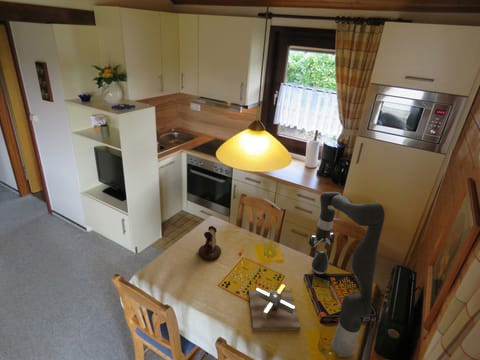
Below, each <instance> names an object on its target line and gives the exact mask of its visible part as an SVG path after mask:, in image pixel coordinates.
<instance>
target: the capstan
mask: <svg viewBox="0 0 480 360" xmlns="http://www.w3.org/2000/svg"><path fill="white" fill-rule="evenodd" d="M285 288H286V285H285V284H281V285H280V286H279V289H277V290H278V291H277V292H271V293H270V294H269V293H267V292H265V291H263V289H261V288H259V287H257V288H256V289H255V290H256V292H255V295H256V296H258V297H260V298H262V299H264V300H266V301H268V302H269V304H268V306H267V307H266V309H265V310H264V313H263V317H264V318H267V317H268V315H269V314H270V312H271V311H277V310H278V307H279V308H281V309H283V310H285V311H287V312H289V313H291V314H293V313H294V310H295V308H296V305H295V306H293V305H291V304H289V303H287V302H285V301H283V300H281V295H282V293H283V292H284V290H285Z"/></svg>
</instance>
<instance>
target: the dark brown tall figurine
mask: <svg viewBox="0 0 480 360" xmlns="http://www.w3.org/2000/svg"><path fill="white" fill-rule="evenodd" d="M217 232H218V231H217V228H216V227H215V226H214V225H209V226H208V231H205V232H204V233H203V236H204V238H205V244H202V245H201V246H200V247H199V249H198V254H199V255H198V256H199V257H201V258H202V259H204V260H208V261H215V260H216V259H218V258H219V257H220V256H221V255H222V249H221V247H220V246H219V245H217V237H216V233H217Z"/></svg>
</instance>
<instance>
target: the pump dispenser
mask: <svg viewBox="0 0 480 360" xmlns="http://www.w3.org/2000/svg"><path fill="white" fill-rule="evenodd" d="M315 253H316V254H315V255H314V257H313V259H312V262H311V269H312V270H313V272H314V273H316V274H317V275H323V274H324V275H325V274H326V273H327V271H328V269H329V264H330V263H329V256H328V254H327V252H325V250H321V251H318V249H316V248H315Z"/></svg>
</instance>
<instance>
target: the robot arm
mask: <svg viewBox="0 0 480 360" xmlns="http://www.w3.org/2000/svg"><path fill="white" fill-rule="evenodd" d="M319 197H320V198H319V200H320V215H319V218H318V221H317V226H316V234H315V235H313V234H311V235H310V237H309V241H308V245H309V246H310V250H311V252H312V253H316V251H315V249H316V246H317V245H319V244H320V243H325V244H324V249H325V250H326V251H328V250H329V248H330V245H331V244H334V242H335V235H336V234H335V233H334V232H333V231H332V229H333V225H334V218H335V214H336V211H335V210H338V211H340V212H342V213H343V214H345V215H346V216H347V217H348V218H349V219H351V220H352V221H353V222H354V223H355V224H357V225H358V226H362V227H367V229H366V233H365V235H364V237H363V238H362V239H361V241H359V243H358V244H357V246H356V247H355V249H354V250H353V254H352V259H351V260H352V261H351V268H352V271H353V272H352V273H353V274H354V276H355V277H356V279H357V281H358V282H359V286H360V291H359V294H346V295H345V296H344V297H343V299H342V303H341V308H340V314H339V319H338V323H337V327H336V330H335V332H334V337H333V340H332V341H331V348H332V351H334V353H335V354H336V355H337V356H338V358H351V357H352V356H353V353H354V351H355V348H356V345H357V343H356V341H357V339H358V336H359V332H360V329H361V327H362V321H361V318H368V317H369V316H370V315H371V312H372V307H373V305H372V304H373V285H374V276H375V272H376V271H375V270H376V267H377V266H376V265H377V257H378V256H377V255H378V248H379V245H380V244H379V243H380V238H381V235H382V234H381V233H382V230H383V227H384V222H385V215H386V214H385V209H384V207H383V205H382V204H380V203H376V202H375V203H373V202H371V203H369V202H368V203H367V202H366V203H354V202H353V200H351V198H349V197H346V196H344V195H342V194H341V193H340V192H339V191H324V192H322V193H321V194H320V196H319ZM330 206H331V207H330Z"/></svg>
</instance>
